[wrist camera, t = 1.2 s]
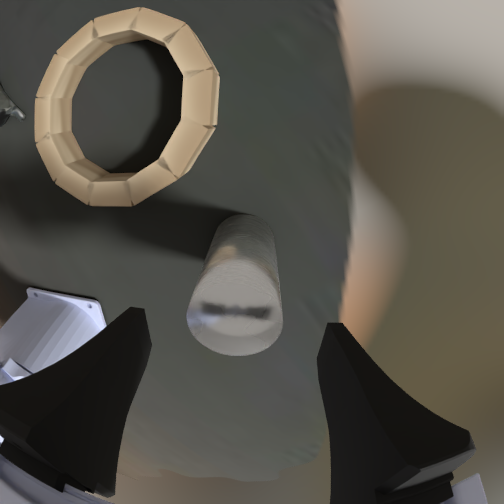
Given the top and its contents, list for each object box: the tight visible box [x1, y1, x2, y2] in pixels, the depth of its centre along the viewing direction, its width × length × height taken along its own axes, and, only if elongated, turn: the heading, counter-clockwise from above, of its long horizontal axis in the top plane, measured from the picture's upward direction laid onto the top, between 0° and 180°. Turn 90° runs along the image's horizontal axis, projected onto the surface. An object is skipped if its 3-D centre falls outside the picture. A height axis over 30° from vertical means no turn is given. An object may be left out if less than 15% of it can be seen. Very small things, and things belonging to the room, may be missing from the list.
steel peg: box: [187, 214, 283, 356], centre depth 15 cm, size 4×4×8 cm
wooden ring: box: [35, 7, 220, 207], centre depth 13 cm, size 12×12×2 cm
